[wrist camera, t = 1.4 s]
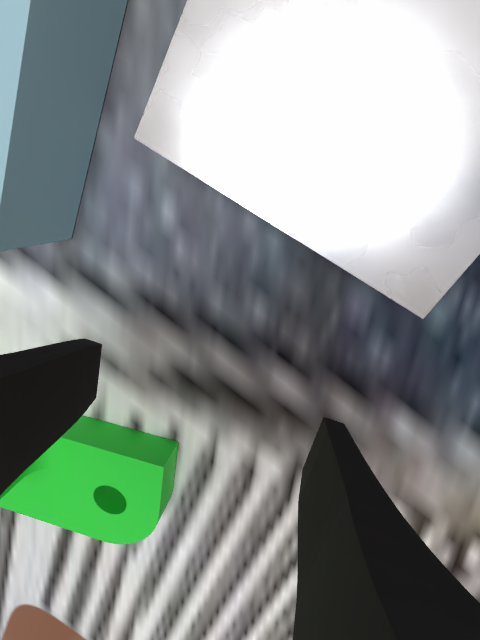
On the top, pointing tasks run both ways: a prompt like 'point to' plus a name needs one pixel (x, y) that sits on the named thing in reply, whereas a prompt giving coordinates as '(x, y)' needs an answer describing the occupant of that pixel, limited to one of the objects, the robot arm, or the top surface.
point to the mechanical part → (98, 482)
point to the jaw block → (336, 128)
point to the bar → (50, 110)
